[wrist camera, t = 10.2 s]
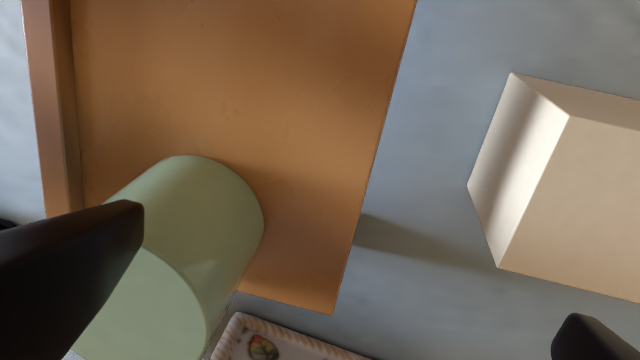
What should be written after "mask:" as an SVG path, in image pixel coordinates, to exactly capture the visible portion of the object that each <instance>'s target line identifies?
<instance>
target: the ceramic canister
mask: <svg viewBox="0 0 640 360" xmlns="http://www.w3.org/2000/svg"><path fill="white" fill-rule="evenodd" d="M121 199H127V200H131V201H135V202H139V203H141V204H142V205H143V206H144V210H145V218H144V240H143V243H142V245H141V247H140V249H139V251H138V252H137V254H136V256H135V257H134V259H133V260H132V262H131V264H130V265H129V267H128V268H127V270H126V272H125V273H124V275H123V276H122V278H121V280H120V281H119V283H118V284H117V286H116V288H115V289H114V291H113V292H112V294H111V296H110V297H109V299H108V300H107V302H106V303H105V305H104V306H103V307H102V309H101V310H100V311H99V313H98V314H97V315H96V317H95V318H94V319H93V320H92V322H91V323H90V324H89V325H88V327H87V328H86V329H85V330H84V332H83V333H82V334H81V336H80V337H79V338H78V339H77V341H76V342H75V343H74V344H73V346H72V347H71V348H70V349H71V350H72V351H74V352H75V353H76V354H78V355H79V356H80V357H82V358H84V359H85V360H201V358H202V357H203V355H204V354H205V352H206V350H207V348H208V346H209V345H210V343H211V341H212V339H213V337H214V335H215V333H216V331H217V329H218V327H219V325H220V323H221V321H222V319H223V317H224V315H225V313H226V311H227V310H228V308H229V306H230V304H231V302H232V300H233V298H234V296H235V294H236V292H237V290H238V288H239V286H240V284H241V282H242V280H243V278H244V276H245V274H246V273H247V271H248V269H249V267H250V265H251V263H252V261H253V259H254V257H255V255H256V253H257V251H258V249H259V247H260V245H261V242H262V239H263V235H264V218H263V213H262V209H261V207H260V204H259V201H258V199H257V197H256V195H255V194H254V192H253V191H252V189H251V188H250V187H249V185H248V184H247V183H246V182H245V181H244V180H243V179H242V178H241V177H240V176H239V175H238V174H237V173H235V172H234V171H233V170H231V169H230V168H228V167H227V166H225V165H223V164H221V163H219V162H217V161H215V160H212V159H209V158H205V157H201V156H195V155H179V156H173V157H169V158H166V159H164V160H161V161H160V162H158V163H156V164H154V165H153V166H152V167H150V168H149V169H148V170H146V171H145V172H144V173H142V174H141V175H140V176H138V177H137V178H136V179H134V180H133V181H132V182H130V183H129V184H128V185H126V186H125V187H124V188H122V189H121V190H120V191H118V192H117V193H116V194H114V195H113V196H112V197H110V198H109V199H108V200H106V201H105V202H104V203H102V204H106V203H110V202H114V201H117V200H121ZM102 204H101V205H102Z"/></svg>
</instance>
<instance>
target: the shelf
mask: <svg viewBox="0 0 640 360" xmlns="http://www.w3.org/2000/svg"><path fill="white" fill-rule="evenodd" d="M20 4H21V12H22V20H23V29H24V37H25V45H26V54H27V62H28V71H29V79H30V87H31V96H32V104H33V112H34V121H35V129H36V138H37V146H38V154H39V163H40V171H41V179H42V188H43V196H44V205H45V213H46V219H48V218H52V217H56V216H60V215H64V214H67V213H71V212H75V211H79V210H83V209H87V208H91V207H94V206H98V205H101V204H102V203H104V202H105V201H106V200H108V199H109V198H110V197H112V196H113V195H114V194H116V193H117V192H118V191H120V190H121V189H122V188H124V187H125V186H126V185H128V184H129V183H130V182H132V181H133V180H134V179H136V178H137V177H138V176H140V175H141V174H142V173H144V172H145V171H146V170H148V169H149V168H150V167H152V166H153V165H154V164H156V163H158V162H160V161H161V160H164V159H166V158H169V157H173V156H179V155H195V156H201V157H205V158H209V159H212V160H215V161H217V162H219V163H221V164H223V165H225V166H227V167H228V168H230V169H231V170H233V171H234V172H235V173H237V174H238V175H239V176H240V177H241V178H242V179H243V180H244V181H245V182H246V183H247V184H248V185H249V187H250V188H251V189H252V191H253V192H254V194H255V195H256V197H257V199H258V201H259V204H260V207H261V209H262V213H263V218H264V235H263V239H262V242H261V245H260V247H259V249H258V251H257V253H256V255H255V257H254V259H253V261H252V263H251V265H250V267H249V269H248V271H247V273H246V274H245V276H244V278H243V280H242V282H241V284H240V286H239V288H238V290H237V291H240V292H243V293H247V294H251V295H255V296H259V297H262V298H266V299H270V300H274V301H278V302H281V303H285V304H289V305H293V306H297V307H300V308H304V309H308V310H312V311H316V312H319V313H323V314H327V315H332V314H333V312H334V308H335V304H336V300H337V297H338V293H339V289H340V286H341V282H342V278H343V274H344V271H345V267H346V263H347V260H348V256H349V252H350V249H351V245H352V241H353V237H354V234H355V230H356V226H357V223H358V219H359V215H360V212H361V208H362V204H363V200H364V197H365V193H366V189H367V186H368V182H369V178H370V174H371V171H372V167H373V163H374V160H375V156H376V152H377V149H378V145H379V141H380V137H381V134H382V130H383V126H384V123H385V119H386V115H387V111H388V108H389V104H390V100H391V97H392V93H393V89H394V86H395V82H396V78H397V74H398V71H399V67H400V63H401V60H402V56H403V52H404V48H405V45H406V41H407V37H408V34H409V30H410V26H411V23H412V19H413V15H414V11H415V8H416V4H417V0H20Z"/></svg>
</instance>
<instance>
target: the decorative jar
mask: <svg viewBox="0 0 640 360" xmlns="http://www.w3.org/2000/svg"><path fill="white" fill-rule="evenodd" d="M209 360H372V359H369V358H366V357H363V356H360V355H358V354H355V353H353V352H350V351H347V350H344V349H342V348H339V347H337V346H333V345H331V344H328V343H325V342H323V341H320V340H317V339H315V338H311V337H309V336H306V335H303V334H300V333H298V332H295V331H293V330H290V329H287V328H284V327H281V326H278V325H276V324H273V323H271V322H268V321H265V320H262V319H260V318H257V317H255V316H252V315H249V314H246V313H243V312H236V313H235V314H233V317H232V318H231V319H230V321H229V323H228V324H227V326H226V329H225V330H224V332H223V334H222V336H221V338H220V340H219V342H218V344H217V346H216V347H215V350H214V351H213V353H212V355H211V357H210V359H209Z"/></svg>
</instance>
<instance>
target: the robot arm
mask: <svg viewBox="0 0 640 360" xmlns="http://www.w3.org/2000/svg"><path fill="white" fill-rule="evenodd" d="M144 218H145V210H144V206H143V205H142V204H141V203H139V202H135V201H131V200H127V199H121V200H117V201H114V202H110V203H106V204H102V205H98V206H94V207H91V208H87V209H83V210H79V211H75V212H71V213H67V214H64V215H60V216H56V217H52V218H48V219H44V220H40V221H37V222H33V223H29V224H25V225H21V226H17V227H16V225H15V224H14V223H12V222H10V221H8V220H4V219H0V360H62V358H63V357H64V356H65V355H66V353H67V352H68V351H69V349H70V348H71V347H72V346H73V344H74V343H75V342H76V341H77V339H78V338H79V337H80V336H81V334H82V333H83V332H84V330H85V329H86V328H87V327H88V325H89V324H90V323H91V322H92V320H93V319H94V318H95V317H96V315H97V314H98V313H99V311H100V310H101V309H102V307H103V306H104V305H105V303H106V302H107V300H108V299H109V297H110V296H111V294H112V292H113V291H114V289H115V288H116V286H117V284H118V283H119V281H120V280H121V278H122V276H123V275H124V273H125V272H126V270H127V268H128V267H129V265H130V264H131V262H132V260H133V259H134V257H135V256H136V254H137V252H138V251H139V249H140V247H141V245H142V243H143V240H144ZM551 357H552V360H640V352H638V351H637V350H636V349H635V348H633V347H632V346H631V345H629V344H628V343H627V342H625V341H624V340H623V339H622V338H620V337H619V336H618V335H616V334H615V333H614V332H613V331H611V330H610V329H609V328H607V327H606V326H605V325H603V324H602V323H601V322H600V321H598V320H597V319H595V318H593V317H591V316H586V315H582V314H578V313H571V314H570V315H568V316H567V318H566V319H565V321H564V323H563V324H562V326H561V328H560V329H559V331H558V332H557V334H556V336H555V337H554V339H553V341H552V344H551Z"/></svg>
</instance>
